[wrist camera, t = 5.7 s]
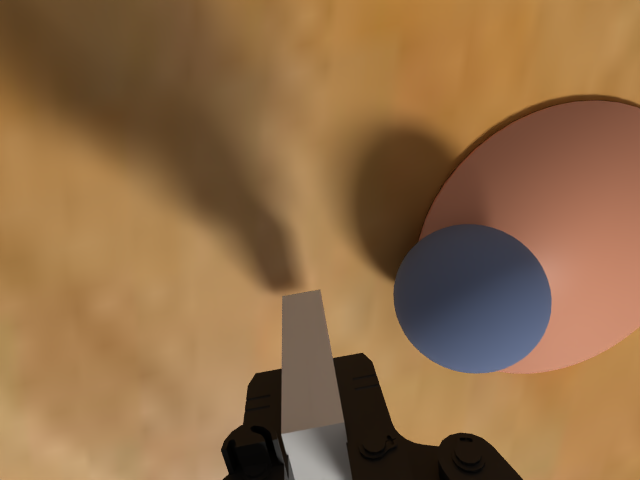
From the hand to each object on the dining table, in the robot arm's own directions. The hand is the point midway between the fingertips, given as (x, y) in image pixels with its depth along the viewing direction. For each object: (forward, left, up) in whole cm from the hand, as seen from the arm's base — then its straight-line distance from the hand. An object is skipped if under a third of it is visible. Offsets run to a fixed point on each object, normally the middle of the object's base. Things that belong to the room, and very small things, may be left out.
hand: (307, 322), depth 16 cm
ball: (+2, +6, +1) cm, 6 cm away
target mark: (+4, +11, -2) cm, 12 cm away
